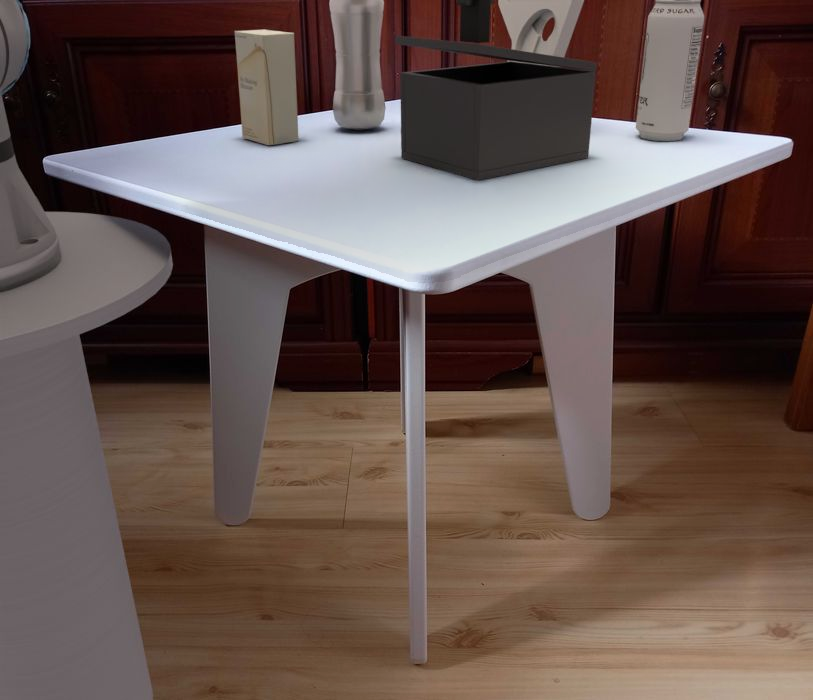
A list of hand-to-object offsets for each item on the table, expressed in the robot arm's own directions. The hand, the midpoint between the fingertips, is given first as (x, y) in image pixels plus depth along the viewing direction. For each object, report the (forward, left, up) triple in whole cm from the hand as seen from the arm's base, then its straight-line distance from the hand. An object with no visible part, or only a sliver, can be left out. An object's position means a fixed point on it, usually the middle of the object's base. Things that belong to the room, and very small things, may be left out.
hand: (474, 41), depth 79 cm
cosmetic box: (-11, +24, -12) cm, 29 cm away
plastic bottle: (+1, +23, -12) cm, 26 cm away
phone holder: (+18, +13, -12) cm, 25 cm away
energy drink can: (+26, -4, -12) cm, 29 cm away
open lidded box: (+3, 0, -12) cm, 12 cm away
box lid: (+3, 0, -2) cm, 3 cm away
